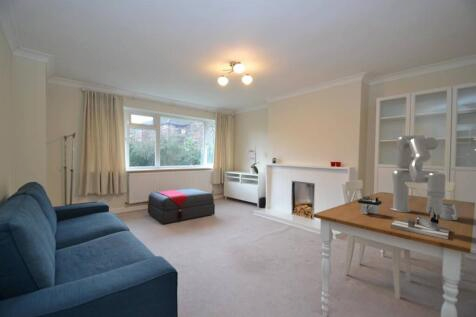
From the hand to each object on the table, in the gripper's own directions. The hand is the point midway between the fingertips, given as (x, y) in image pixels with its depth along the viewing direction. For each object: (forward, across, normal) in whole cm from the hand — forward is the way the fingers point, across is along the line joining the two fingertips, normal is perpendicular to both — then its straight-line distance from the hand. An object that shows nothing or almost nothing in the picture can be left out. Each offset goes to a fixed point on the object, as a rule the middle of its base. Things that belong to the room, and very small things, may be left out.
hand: (434, 225), depth 130 cm
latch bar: (+1, +2, -3) cm, 3 cm away
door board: (+3, +4, -6) cm, 8 cm away
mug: (+4, -36, -2) cm, 36 cm away
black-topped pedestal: (+4, -5, -39) cm, 39 cm away
